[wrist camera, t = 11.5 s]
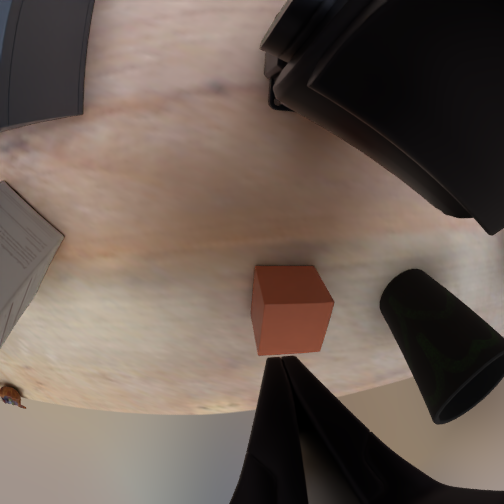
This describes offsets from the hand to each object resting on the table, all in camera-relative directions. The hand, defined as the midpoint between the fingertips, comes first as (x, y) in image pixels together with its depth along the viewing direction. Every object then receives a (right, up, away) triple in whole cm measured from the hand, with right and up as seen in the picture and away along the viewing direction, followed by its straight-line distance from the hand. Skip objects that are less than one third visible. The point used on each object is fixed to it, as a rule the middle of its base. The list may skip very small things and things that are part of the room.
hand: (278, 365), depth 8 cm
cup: (+13, -1, +16) cm, 21 cm away
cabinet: (-17, +18, +2) cm, 25 cm away
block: (+1, 0, +14) cm, 14 cm away
